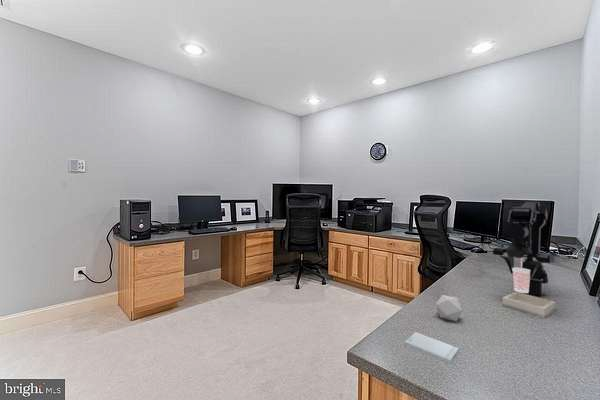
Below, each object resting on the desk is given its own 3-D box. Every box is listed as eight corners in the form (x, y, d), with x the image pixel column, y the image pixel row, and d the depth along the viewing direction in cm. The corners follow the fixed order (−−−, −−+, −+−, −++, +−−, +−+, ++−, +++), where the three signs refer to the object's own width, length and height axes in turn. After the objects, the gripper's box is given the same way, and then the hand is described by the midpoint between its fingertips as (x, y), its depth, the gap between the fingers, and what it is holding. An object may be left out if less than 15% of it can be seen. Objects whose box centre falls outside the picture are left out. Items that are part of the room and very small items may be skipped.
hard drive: (404, 341, 79) (450, 359, 70) (415, 331, 84) (459, 347, 75) (404, 346, 79) (450, 365, 70) (415, 336, 84) (459, 353, 75)
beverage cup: (508, 288, 111) (508, 255, 111) (523, 288, 111) (523, 255, 110) (519, 293, 105) (519, 258, 105) (535, 294, 104) (535, 259, 104)
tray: (515, 299, 115) (515, 291, 115) (555, 310, 104) (555, 301, 104) (502, 306, 108) (502, 297, 108) (543, 318, 97) (544, 308, 97)
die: (464, 319, 97) (450, 293, 102) (470, 316, 90) (455, 289, 95) (443, 326, 98) (429, 300, 103) (447, 323, 91) (432, 296, 96)
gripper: (486, 236, 111) (486, 272, 111) (544, 242, 95) (543, 285, 95) (498, 234, 117) (498, 269, 117) (555, 240, 101) (554, 280, 101)
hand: (521, 275), depth 108 cm, fingers closed on beverage cup, 6 cm apart
